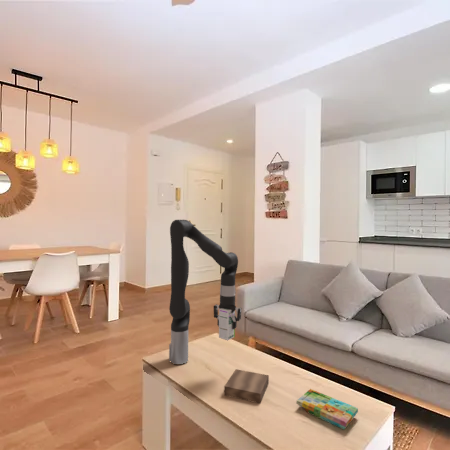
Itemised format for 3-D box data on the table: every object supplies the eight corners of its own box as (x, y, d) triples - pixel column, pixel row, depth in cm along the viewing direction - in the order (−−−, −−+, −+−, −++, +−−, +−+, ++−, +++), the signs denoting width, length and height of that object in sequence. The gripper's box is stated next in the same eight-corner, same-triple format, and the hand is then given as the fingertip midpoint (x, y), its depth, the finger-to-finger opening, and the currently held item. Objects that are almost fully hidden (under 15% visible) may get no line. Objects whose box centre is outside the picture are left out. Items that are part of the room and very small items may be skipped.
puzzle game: (346, 421, 111) (296, 398, 124) (346, 433, 111) (296, 409, 124) (358, 406, 119) (310, 386, 133) (357, 418, 119) (310, 397, 133)
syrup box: (227, 340, 146) (228, 310, 146) (218, 337, 150) (218, 308, 149) (234, 337, 151) (235, 307, 150) (225, 334, 154) (226, 305, 154)
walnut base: (224, 395, 133) (224, 386, 133) (235, 377, 148) (235, 369, 148) (260, 403, 128) (260, 393, 128) (268, 383, 143) (268, 375, 143)
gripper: (211, 294, 149) (210, 328, 149) (239, 297, 144) (238, 332, 144) (216, 290, 156) (216, 323, 156) (244, 293, 151) (243, 327, 151)
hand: (226, 327), depth 150 cm, fingers closed on syrup box, 6 cm apart
